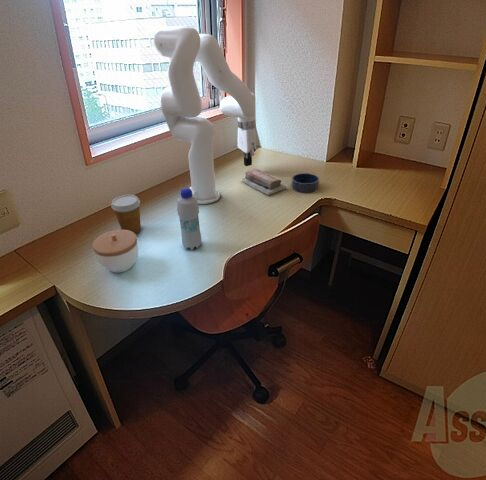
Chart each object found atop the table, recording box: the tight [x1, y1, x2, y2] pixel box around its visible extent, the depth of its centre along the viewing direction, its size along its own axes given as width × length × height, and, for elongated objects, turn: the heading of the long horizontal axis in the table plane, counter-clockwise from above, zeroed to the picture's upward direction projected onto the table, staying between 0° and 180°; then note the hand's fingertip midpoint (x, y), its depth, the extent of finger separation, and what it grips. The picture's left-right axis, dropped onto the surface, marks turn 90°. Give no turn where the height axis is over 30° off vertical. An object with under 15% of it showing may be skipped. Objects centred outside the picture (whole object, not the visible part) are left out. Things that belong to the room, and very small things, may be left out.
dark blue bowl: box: [291, 172, 320, 194], centre depth 147 cm, size 11×11×4 cm
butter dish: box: [241, 168, 287, 196], centre depth 150 cm, size 18×5×10 cm
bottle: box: [176, 188, 203, 251], centre depth 110 cm, size 7×7×20 cm
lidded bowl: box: [92, 229, 139, 274], centre depth 106 cm, size 13×13×11 cm
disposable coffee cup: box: [110, 194, 142, 235], centre depth 122 cm, size 10×10×12 cm
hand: (247, 165), depth 161 cm, fingers closed
